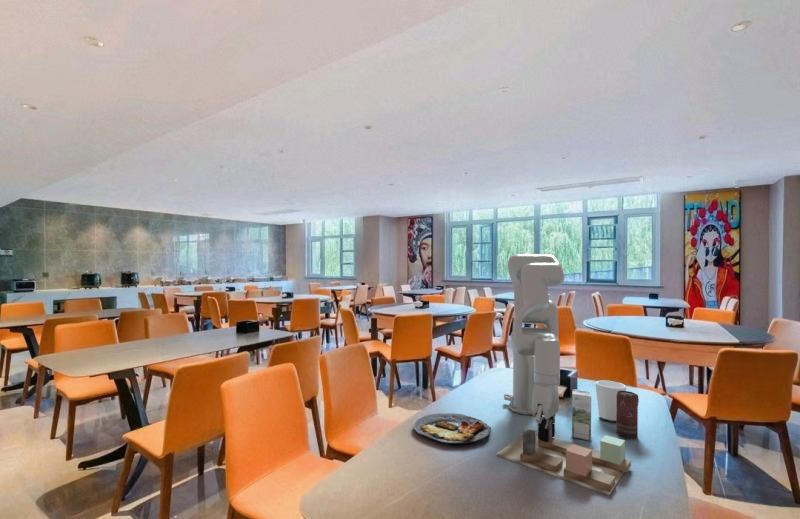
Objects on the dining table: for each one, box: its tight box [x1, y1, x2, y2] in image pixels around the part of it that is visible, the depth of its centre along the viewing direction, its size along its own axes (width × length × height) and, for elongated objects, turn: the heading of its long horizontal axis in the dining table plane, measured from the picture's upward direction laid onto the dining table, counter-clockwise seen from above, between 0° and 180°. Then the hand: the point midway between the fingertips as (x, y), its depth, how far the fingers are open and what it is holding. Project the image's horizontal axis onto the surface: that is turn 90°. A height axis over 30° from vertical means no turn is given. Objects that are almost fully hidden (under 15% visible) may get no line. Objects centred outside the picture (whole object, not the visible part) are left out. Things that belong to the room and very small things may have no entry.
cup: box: [595, 379, 627, 423], centre depth 146 cm, size 10×10×13 cm
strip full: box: [538, 418, 632, 473], centre depth 116 cm, size 24×5×8 cm, turn 48°
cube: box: [599, 434, 626, 465], centre depth 111 cm, size 5×5×5 cm
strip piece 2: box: [564, 467, 615, 492], centre depth 103 cm, size 11×5×2 cm, turn 49°
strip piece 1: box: [520, 428, 563, 472], centre depth 112 cm, size 10×5×8 cm, turn 49°
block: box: [566, 443, 592, 476], centre depth 105 cm, size 5×5×5 cm
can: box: [615, 390, 640, 440], centre depth 132 cm, size 6×6×14 cm
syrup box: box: [571, 388, 592, 441], centre depth 131 cm, size 6×6×14 cm
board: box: [496, 434, 625, 496], centre depth 115 cm, size 30×20×1 cm, turn 49°
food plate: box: [413, 412, 492, 445], centre depth 134 cm, size 25×23×4 cm
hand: (546, 437), depth 123 cm, fingers open, 3 cm apart
